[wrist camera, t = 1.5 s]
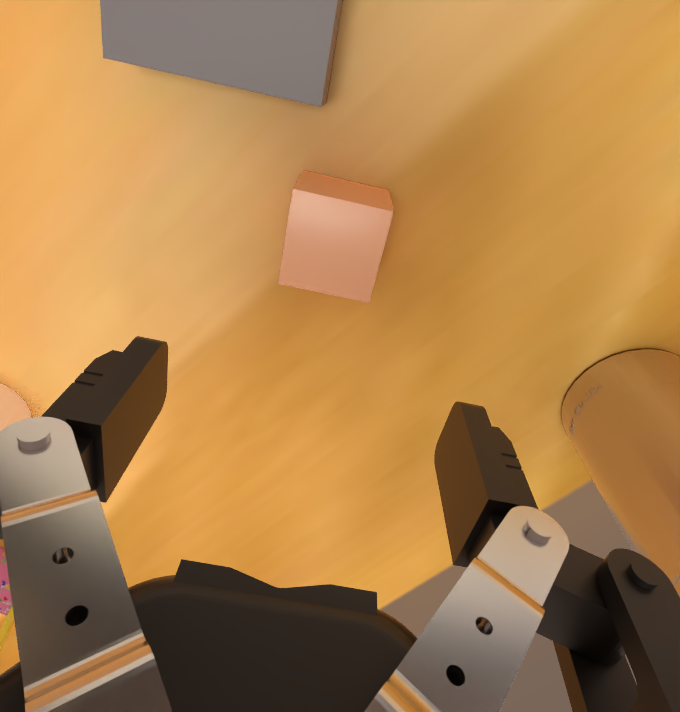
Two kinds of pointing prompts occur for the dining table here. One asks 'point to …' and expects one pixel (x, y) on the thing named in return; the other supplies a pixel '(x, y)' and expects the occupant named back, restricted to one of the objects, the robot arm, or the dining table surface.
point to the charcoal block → (230, 42)
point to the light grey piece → (11, 407)
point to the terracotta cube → (335, 236)
